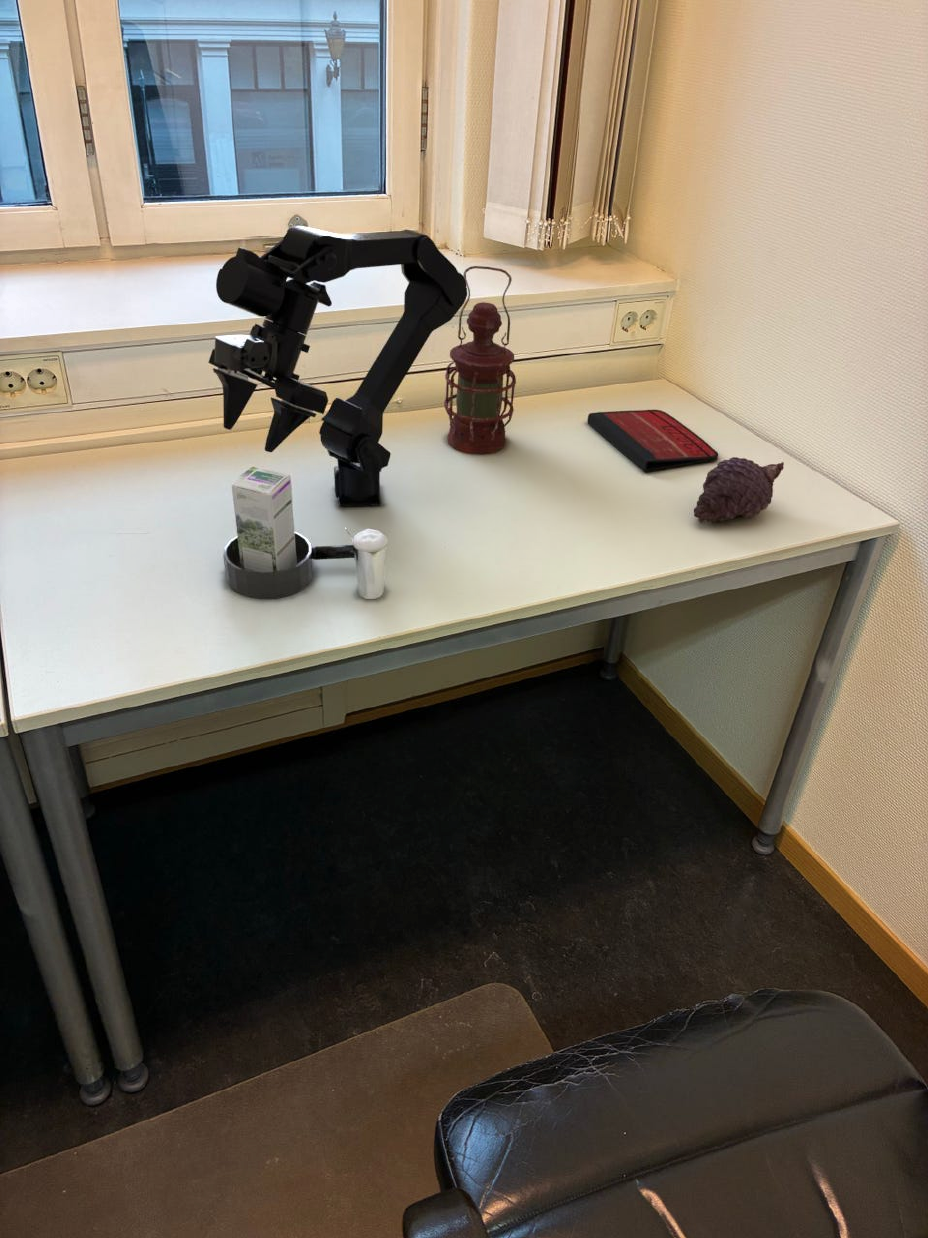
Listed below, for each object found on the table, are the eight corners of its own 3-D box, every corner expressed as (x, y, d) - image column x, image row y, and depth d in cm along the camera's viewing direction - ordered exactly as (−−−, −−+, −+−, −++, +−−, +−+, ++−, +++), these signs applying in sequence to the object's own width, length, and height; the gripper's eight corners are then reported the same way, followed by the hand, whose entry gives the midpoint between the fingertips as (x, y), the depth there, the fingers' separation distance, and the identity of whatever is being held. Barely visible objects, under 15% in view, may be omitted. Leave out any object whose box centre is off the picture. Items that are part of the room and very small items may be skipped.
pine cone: (725, 545, 138) (701, 485, 135) (685, 544, 147) (662, 487, 145) (809, 492, 143) (788, 433, 140) (766, 494, 152) (745, 438, 150)
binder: (646, 460, 155) (587, 411, 170) (643, 473, 156) (585, 423, 172) (725, 452, 160) (661, 406, 176) (721, 464, 162) (658, 417, 177)
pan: (312, 550, 131) (310, 526, 129) (314, 596, 122) (312, 571, 120) (228, 553, 129) (225, 529, 127) (224, 601, 120) (221, 575, 118)
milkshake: (348, 583, 125) (346, 519, 119) (387, 583, 125) (387, 519, 120) (347, 602, 121) (345, 537, 115) (388, 602, 122) (388, 537, 116)
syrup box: (298, 566, 127) (292, 472, 119) (278, 588, 123) (270, 492, 114) (262, 557, 128) (253, 463, 120) (240, 579, 124) (229, 483, 115)
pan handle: (382, 552, 127) (382, 541, 126) (383, 559, 126) (383, 548, 125) (309, 555, 126) (308, 544, 125) (309, 562, 124) (308, 551, 123)
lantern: (434, 450, 159) (441, 272, 141) (451, 422, 169) (458, 252, 151) (503, 460, 157) (519, 281, 140) (516, 432, 167) (532, 260, 149)
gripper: (194, 289, 118) (158, 404, 122) (284, 327, 108) (241, 452, 112) (260, 315, 128) (224, 422, 131) (348, 353, 118) (307, 468, 121)
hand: (247, 439), depth 124 cm, fingers open, 9 cm apart
